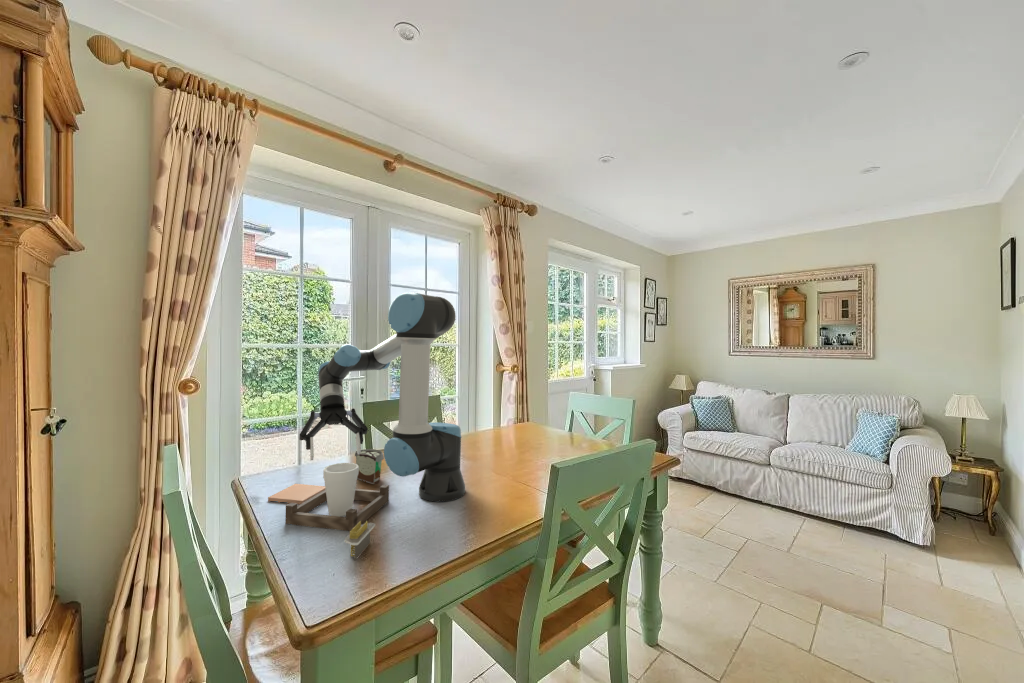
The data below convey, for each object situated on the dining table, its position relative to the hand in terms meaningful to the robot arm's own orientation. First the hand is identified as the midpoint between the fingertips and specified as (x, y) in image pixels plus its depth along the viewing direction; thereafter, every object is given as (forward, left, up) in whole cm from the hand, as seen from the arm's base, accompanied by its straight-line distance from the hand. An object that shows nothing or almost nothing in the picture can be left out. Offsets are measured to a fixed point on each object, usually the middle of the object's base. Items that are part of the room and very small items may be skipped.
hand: (336, 455), depth 124 cm
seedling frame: (-6, +7, -14) cm, 17 cm away
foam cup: (-6, +7, -14) cm, 17 cm away
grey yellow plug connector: (-23, +25, -15) cm, 38 cm away
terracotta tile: (+14, -1, -14) cm, 20 cm away
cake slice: (-1, -20, -14) cm, 25 cm away
